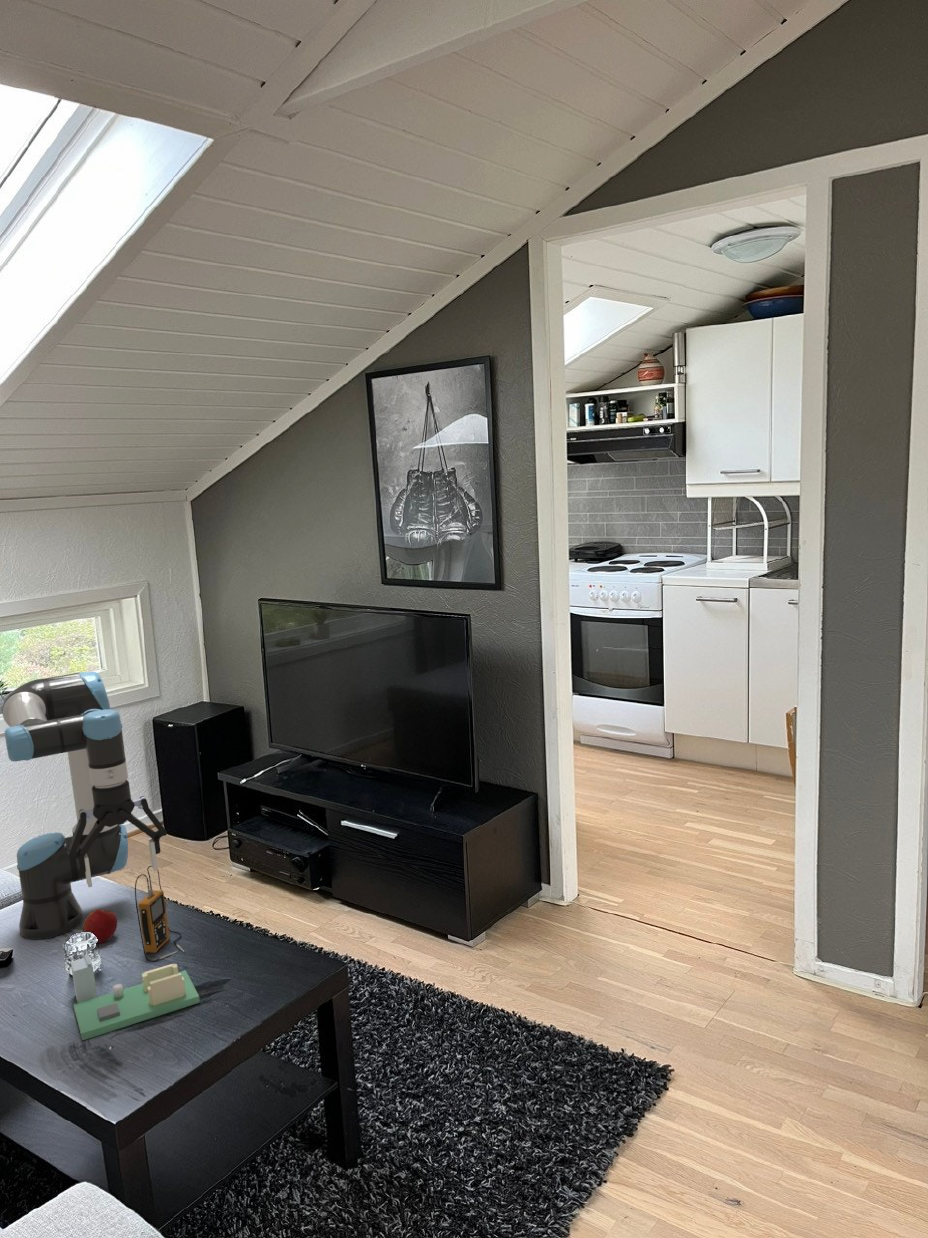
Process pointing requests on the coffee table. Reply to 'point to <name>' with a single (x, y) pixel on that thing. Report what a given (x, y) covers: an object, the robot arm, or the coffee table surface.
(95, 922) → the apple
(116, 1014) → the board
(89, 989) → the plug
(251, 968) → the coffee table surface
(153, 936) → the multimeter
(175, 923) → the coffee table surface
